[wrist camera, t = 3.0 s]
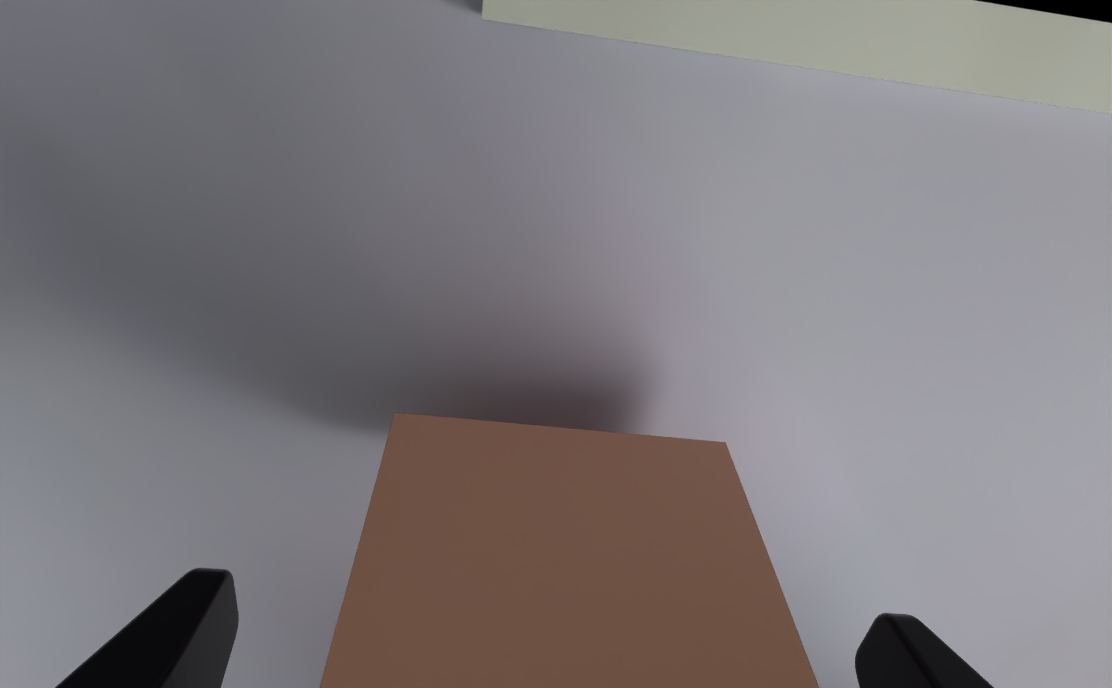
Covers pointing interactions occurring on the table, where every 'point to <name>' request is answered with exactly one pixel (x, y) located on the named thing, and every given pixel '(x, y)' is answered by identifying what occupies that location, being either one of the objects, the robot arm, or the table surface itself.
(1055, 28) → the domino mat
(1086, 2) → the walnut domino
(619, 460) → the terracotta domino
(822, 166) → the table surface
